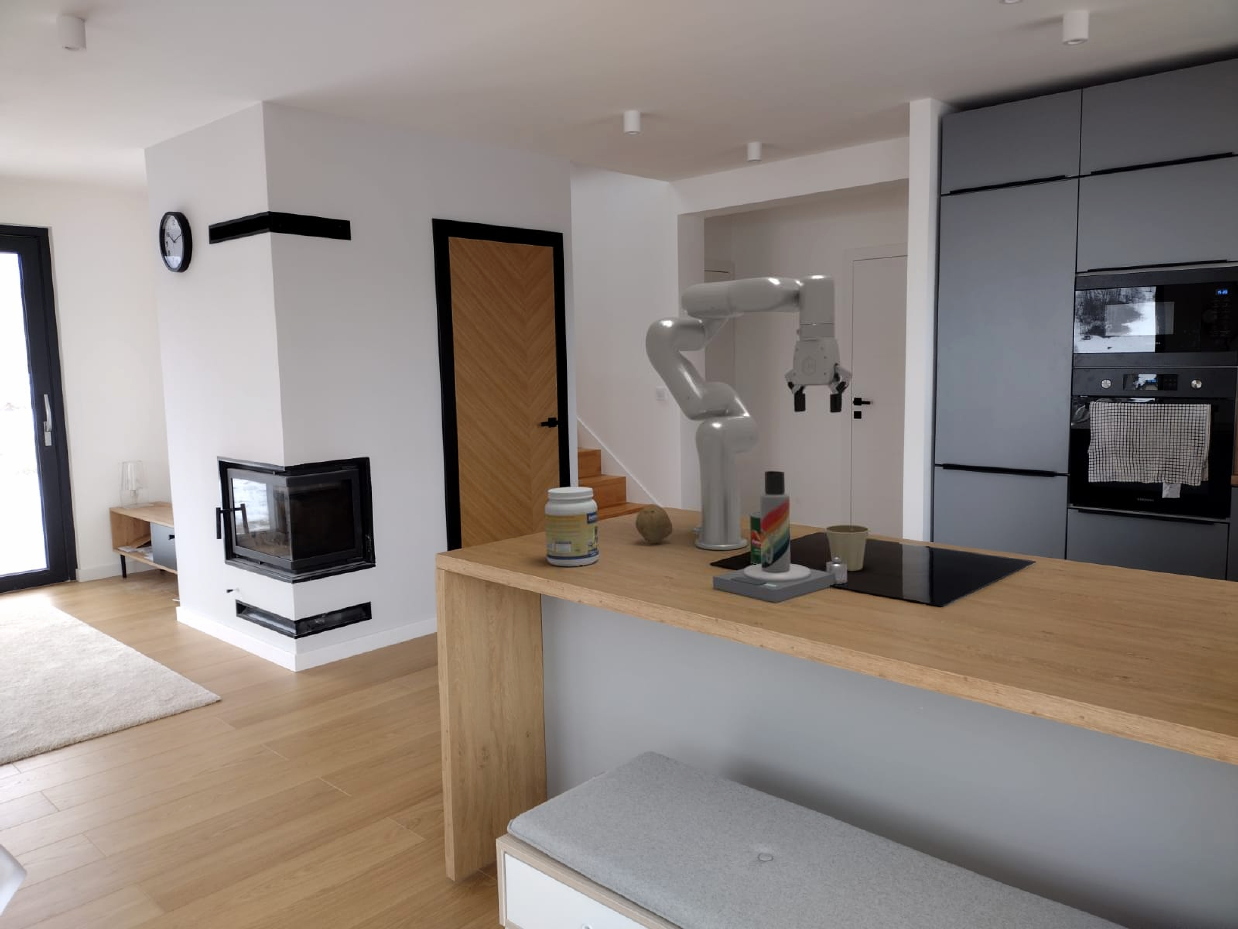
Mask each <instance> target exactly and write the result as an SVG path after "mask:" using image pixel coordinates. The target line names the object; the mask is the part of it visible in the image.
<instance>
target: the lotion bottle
mask: <svg viewBox="0 0 1238 929" xmlns="http://www.w3.org/2000/svg"><path fill="white" fill-rule="evenodd" d="M785 483H786V482H785V471H775V470H767V471H764V493H762V494H761V495H760V496H759V497H760V498H759V500H760V504H759V505H760V511H759V512H761V566H762V570H763V571H766V572H773V573H779V572H786V571H789V570H790V564H791V540H790V539H791V527H790V526H791V520H790V519H791V518H790V517H791V516H790V515H791V514H790V504H791V503H790V494H787V493H785V490H786V489H785V488H786V486H785Z"/></svg>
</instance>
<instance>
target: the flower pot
mask: <svg viewBox="0 0 1238 929" xmlns="http://www.w3.org/2000/svg"><path fill="white" fill-rule="evenodd" d="M824 531H825V532H826V537H827V540H828V544H829V549H830V551H829V552H830V557H831V559H830V560H832V557H841V562H845V563H847V571H850V572H854V571H860V570H862V569H863V567H864V557H865V550H866V544H867V539H868V537H869V533H870V532H871V528H869V527H867V526H865V525H864V526H863V525H858V524H857V525H856V524H836V525H834V524H833V525H829V526H826V527H824Z"/></svg>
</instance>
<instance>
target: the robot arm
mask: <svg viewBox="0 0 1238 929" xmlns="http://www.w3.org/2000/svg"><path fill="white" fill-rule="evenodd" d="M835 291H836V290H835V279H834V278H833V277H832V276H831V275H828V274H827V275H826V274H816V275H814V274H813V275H807V276H803V277H802V278H794V277H793V278H790V277H780V276H763V277H761V276H760V277H753V278H752V277H751V278H743V279H735V280H734V279H733V280H725V281H724V280H723V281H715V282H712V281H711V282H702V283H697V284H696V283H695V284H693V285H691V286H689V287H687V288H686V289H685V290H684V292H683V294H682V295H681V299H680V304H681V309H682V310H683V311H684V313H685V314H687V315H688V316H690V317H673V316H672V317H671V316H670V317H663V318H659V319H657V320H655V321H654V322H652V323H651V324H650V325H649V327H648V328H647V331H646V334H645V335H646V336H645V351H646V355H647V357H648V360H649V362H650V364H651V365H652V367H653V369H654V370H655V372H656V373H657V374H658V375H659V377H660V378H661V379H662V381H663V382H664V383H665V386H666V387H667V389H668V391H669V392H670V394H671V396H673V398H674V400H675V403H676V404H677V405H678V407H679V408H680V410H681V411H682V413H683V415H684V416H685V417H686V418H687V419H688V420H690V421H696V422H700V421H702V422H701V423H700V424H699V425H698V427H697V429H696V431H695V438H694V440H695V445H696V446H695V447H696V450H697V451H696V452H697V456H698V461H699V478H700V480H699V481H700V508H701V509H700V513H701V525H699V524H697V525H696V526H695V527H693V528H692V533H693V534H697V535H698V538H697V539H696V540H695V546H696V547H698V548H699V549H706V550H713V551H715V550H716V551H720V550H721V551H722V550H723V551H725V550H726V551H727V550H728V551H729V550H736V549H743V548H744V547H746V546H747V545H748V540H747V539H746V538H744V537H741V535H742V534H741V496H740V495H741V493H740V491H741V486H740V471H739V467H738V464H737V461H736V458H735V456H734V455H740V454H745V453H748V452H750V451H753V450H754V449H755V448H756V447H757V446H758V443H759V440H760V430H759V427H758V424H757V422H756V421H755V419H754V417H753V415H752V414H751V412H750V411H749V409H748V408H747V407H746V405H745V403H744V402H743V400H742V399H741V396H739V394H738V393H737V391H736V390H735V389H734V388H733V387H732V386H731V385H729V384H728V383H725V382H721V381H706V380H705V379H704V378H703V377H702V376H701V374H700V373H699V372H698V370H697V367H696V366H695V365H694V364H693V363H692V362H691V361H690V359H688V358H687V357H685V356H684V355H683V354H682V353H681V352H696V351H697V352H698V351H700V350H702V349H704V348H705V347H707V346H708V345H709V344H710V343H711V341H712V340H713V339H714V338H715V336H716V335H717V334H718V333H719V331H720V330H721V329H722V328H723V327H724V326H725V324H726V323H727V322H728V320H729V319H731V318H740V317H742V316H743V315H744V314H745V313H765V312H766V313H770V312H771V313H793V314H794V313H799V316H798V318H799V322H798V323H799V329H797V330H796V331H795V333H796V335H797V336H799V340H796V341H795V346H794V349H793V350H794V352H793V357H792V358H793V360H792V369H790V370H789V371H788V372H786V373H785V374H784V378H785V381H786V383H787V387H788V388H789V389H790V391H791V394H792V395H793V407H794V408H793V410H794V412H795V413H803V412H805V411H806V410H807V408H806V406H807V405H806V402H807V401H806V393H804V392H805V390H806V388H807V387H808V386H811V387H812V386H813V387H814V386H827V387H828V388H829V390H830V391H831V393H830V396H829V412H830V413H831V414H834V413H837V414H838V413H841V412H842V408H843V394H844V393H845V392H846V389H847V388H848V387H849V384H850V381H851V379H852V376H853V372H851V371H849V370H847V369H846V368H844V367H842V365H841V364H842V363H841V354H840V348H839V344H838V339H837V338H835V337H836V334H835V333H836V331H835V330H836V327H835V326H836V324H835V323H836V322H835V320H836V319H835V317H836V316H835V314H836V313H835V311H836V308H835V307H836V306H835V298H836V295H835V294H836V293H835Z"/></svg>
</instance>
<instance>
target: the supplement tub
mask: <svg viewBox="0 0 1238 929" xmlns="http://www.w3.org/2000/svg"><path fill="white" fill-rule="evenodd" d="M593 492H594V490H593V488H592V487H586V486H566V487H565V486H564V487H556V488H551V489H548V491H547V499H548V500H549V501H547V503H545V505H544V515H545V516H544V519H545V521H544V522H545V540H546V541H545V543H546V547H545V548H546V560H547V562H548V564H551V565H552V566H557V567H581V566H580V565H582V566H589V565H591V564H593V563H595V562H596V561H597V560H598V559H599V556H600V548H599V530H598V529H599V528H598V527H599V526H598V525H599V522H598V505H597V502H596V501H595V500H594V499H592V498H593V497H594V493H593Z"/></svg>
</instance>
